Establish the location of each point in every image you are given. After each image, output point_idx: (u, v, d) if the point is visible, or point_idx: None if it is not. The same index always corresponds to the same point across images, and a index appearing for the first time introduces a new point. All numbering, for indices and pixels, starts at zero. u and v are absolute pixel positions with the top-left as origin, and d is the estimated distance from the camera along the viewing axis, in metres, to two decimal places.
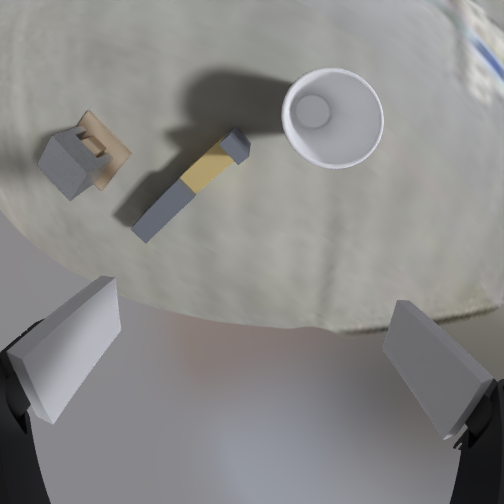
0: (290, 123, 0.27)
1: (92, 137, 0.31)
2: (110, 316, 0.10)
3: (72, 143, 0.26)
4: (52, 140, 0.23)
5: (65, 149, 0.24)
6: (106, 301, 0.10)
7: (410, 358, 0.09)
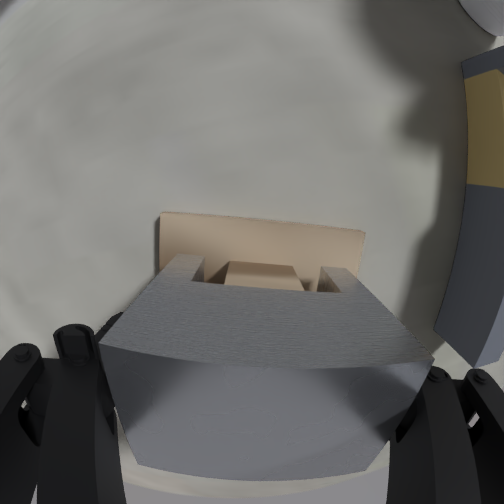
0: None
1: (234, 265, 0.12)
2: None
3: (221, 310, 0.07)
4: (123, 363, 0.05)
5: (239, 361, 0.05)
6: None
7: None
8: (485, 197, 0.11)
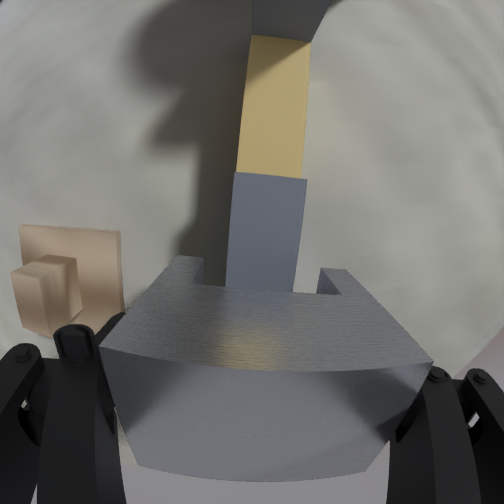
0: None
1: (44, 257, 0.15)
2: None
3: (221, 313, 0.07)
4: (123, 366, 0.05)
5: (239, 364, 0.05)
6: None
7: None
8: None
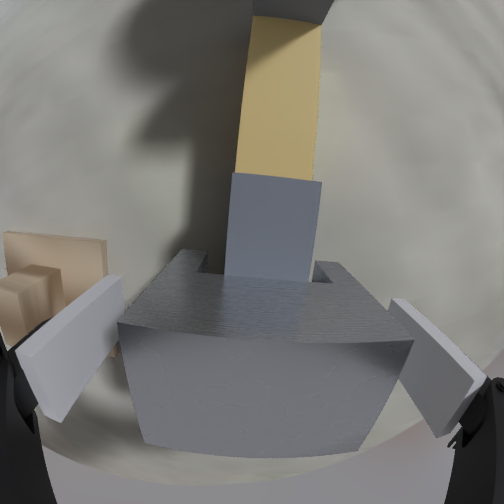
0: None
1: (27, 267, 0.13)
2: (116, 315, 0.11)
3: (223, 296, 0.08)
4: (138, 340, 0.06)
5: (239, 335, 0.06)
6: (112, 300, 0.10)
7: None
8: None
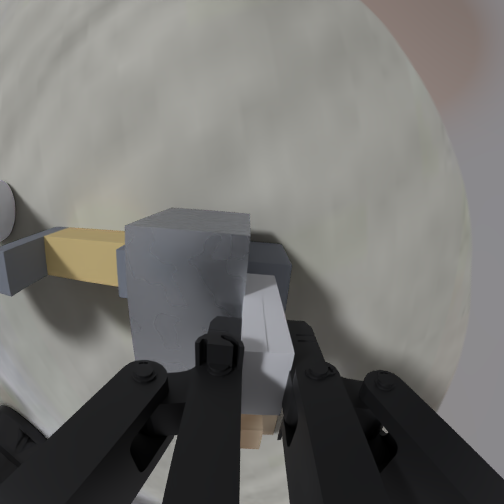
0: None
1: None
2: None
3: None
4: None
5: (131, 323, 0.11)
6: None
7: None
8: None
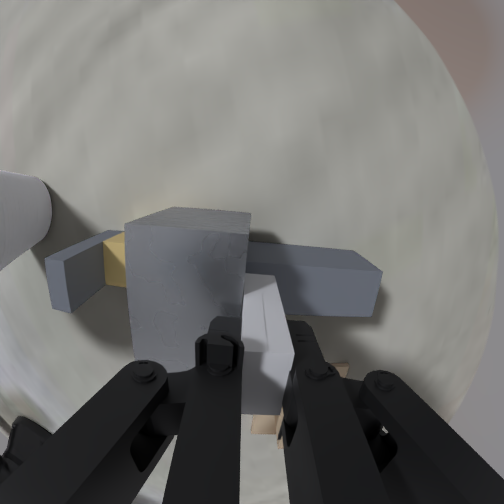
0: (18, 235, 0.14)
1: (275, 418, 0.22)
2: None
3: None
4: None
5: (131, 321, 0.11)
6: None
7: None
8: None
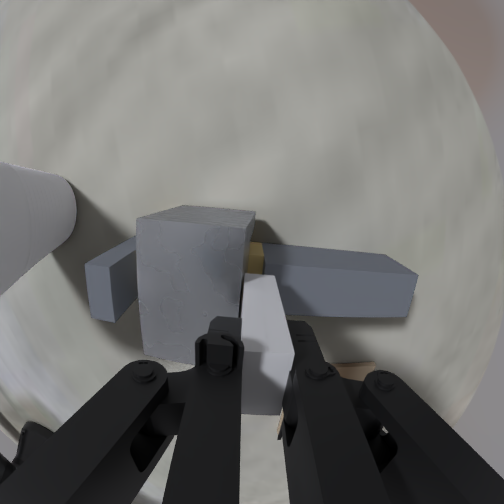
0: (44, 237, 0.14)
1: None
2: None
3: None
4: (149, 348, 0.13)
5: (140, 307, 0.13)
6: None
7: None
8: None
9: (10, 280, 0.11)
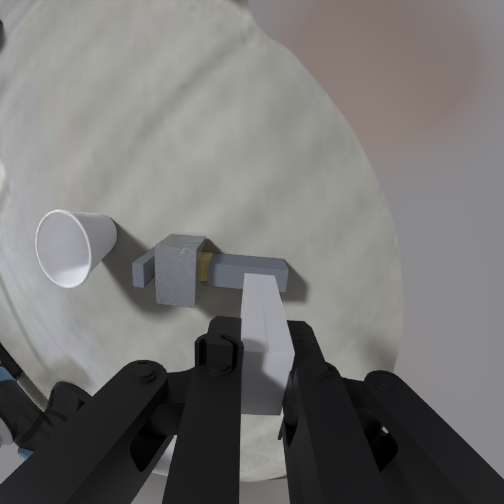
0: (104, 250, 0.33)
1: None
2: None
3: None
4: (159, 299, 0.32)
5: (155, 281, 0.31)
6: None
7: None
8: None
9: None
